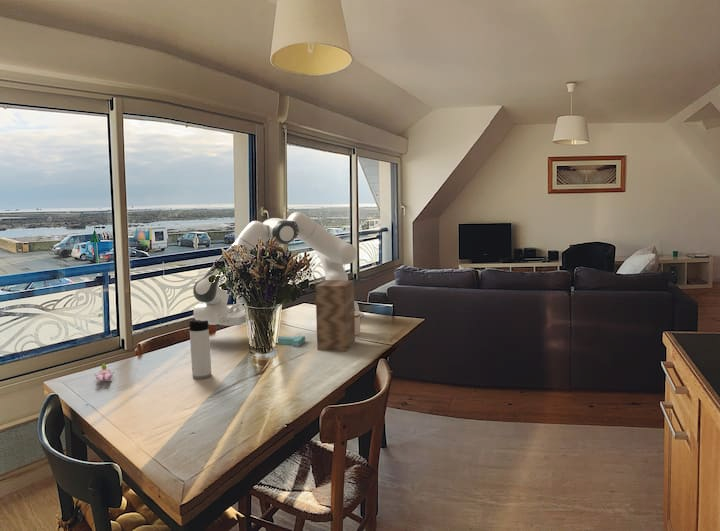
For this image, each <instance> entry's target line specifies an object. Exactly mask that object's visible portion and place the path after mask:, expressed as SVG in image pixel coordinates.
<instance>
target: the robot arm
mask: <svg viewBox="0 0 720 531" xmlns="http://www.w3.org/2000/svg"><path fill="white" fill-rule="evenodd" d="M259 237H261V238H262V242H263V243H264V244H266V243H267V242H268V241H270V240H269V239H270V238H271V237H276V242H275V243H276V244H280V245H288V244H290V243H292V242H293V241H294V240H295V238H297V239H298V240H300V241H301V242H303V243H304V244H306V245H307V246H308V247H310V249H312V250H314V251H315V252H316V254H317V257H318V258H319V260H320V262H321V265H322V267H323V272H324V276H325V280H349V276H348V273H347V272H346V270H345V268H344V266H345V265H349V264H352V263H354V261H355V260H356V257H357V249H356V248H355V246H354V245H353V244H351V243H349V242H347V241H345V240H344V239H343V238H341V237H339V236H337V235H336V234H333V233H332V232H330V231H328V230H327V229H325V227H323V226H322V225H321V224H319V223H318V222H317V221H315V220H314V219H312V218H311V217H309V216H308V215H306V214H304V213H303V212H300V211H295V212H292V213H291V214H290V215H289V216H288V218H286V219H283V218H280V217H279V218H278V217H274V216H272V217H268V218H266V219H264V220H262V221H259V220H252V221H250V223H248V224H247V225H246V226H245V227H244V229H243V230H242V231H241V232H240V234H239V235H238V237H237V238H236V240H235V241H234V242H233V243H232V245H231V246H234V245H238V246H239V245H242V244H245V245H246V246H247V247H248V248H249V249H250V250H251V249H254V248H256V246H255V245H257V244H258V238H259ZM231 246H230V247H228V248H226V250H225V251H226V252H230V251H231ZM217 261H223V255H222V254H221V255H220V256H219V257H218V259H216V261H215V262H217ZM213 267H214V264H213V265H212V266H211V267H210V268H209V270H208V271H206V273H205V274H204V275H203V276H202V277H200V278H199V279H198V280H197V281H195V283H194V285H193V289H192V291H193V296H194V298H195V299H196V300H197V301H198V304H196V305H195V306H194V307H193V318H194V319H195V320H200V321H205V320H207V321H208V325H211V326H212V325H213V326H215V325H221V326H229V327H230V326H232V327H233V326H241V325H243V324H245V323H247V322H246V313H245V308H244V306H245V305H243V304H241V303H238V304H228V302H229V298H230V293H229V294H227V292H226V291H222V290H221V289H220V288H219V286H218V285H219V284H220V281H219V278H220V276H217V277H216V279H215V282H214V283H210V282H209V281H208V278H209V276H210V275H217V274H218V271H217V270H214V271H211V270H212V268H213ZM354 310H355V311H356V312H359V313H360V318H361V317H363V316H365V315H364V314H365V313H363V311H362V312H361V311H360V307H359V304H358V303H357V302H356V301H355V300H354Z"/></svg>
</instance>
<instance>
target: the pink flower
mask: <svg viewBox="0 0 720 531" xmlns="http://www.w3.org/2000/svg"><path fill="white" fill-rule="evenodd" d="M115 373H116V372H115V371H112V372H111V370H110V369H109V368H107V366H106V364H105V363H103V364H102V365H101V370H99V373H98V374H94V377H95V379H96V380H98V381H99V382H103V381H106V382H107V381H109V380H110V379H112V378H113V375H114V374H115Z"/></svg>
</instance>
